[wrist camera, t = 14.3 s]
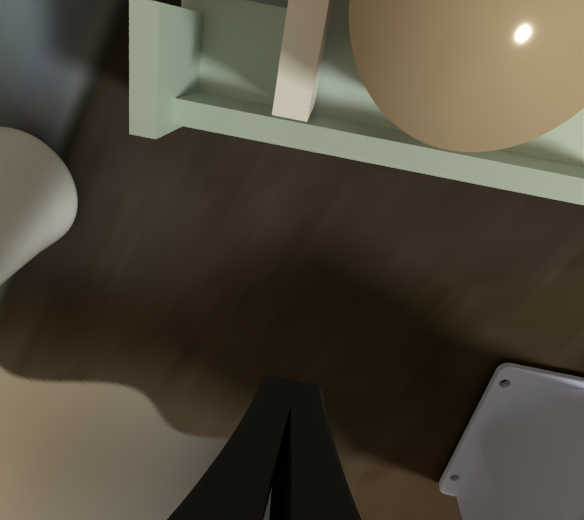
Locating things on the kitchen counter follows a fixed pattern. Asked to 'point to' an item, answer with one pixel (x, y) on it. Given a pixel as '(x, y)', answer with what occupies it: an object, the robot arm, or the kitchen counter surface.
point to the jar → (471, 67)
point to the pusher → (300, 55)
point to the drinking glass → (31, 199)
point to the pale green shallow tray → (328, 104)
